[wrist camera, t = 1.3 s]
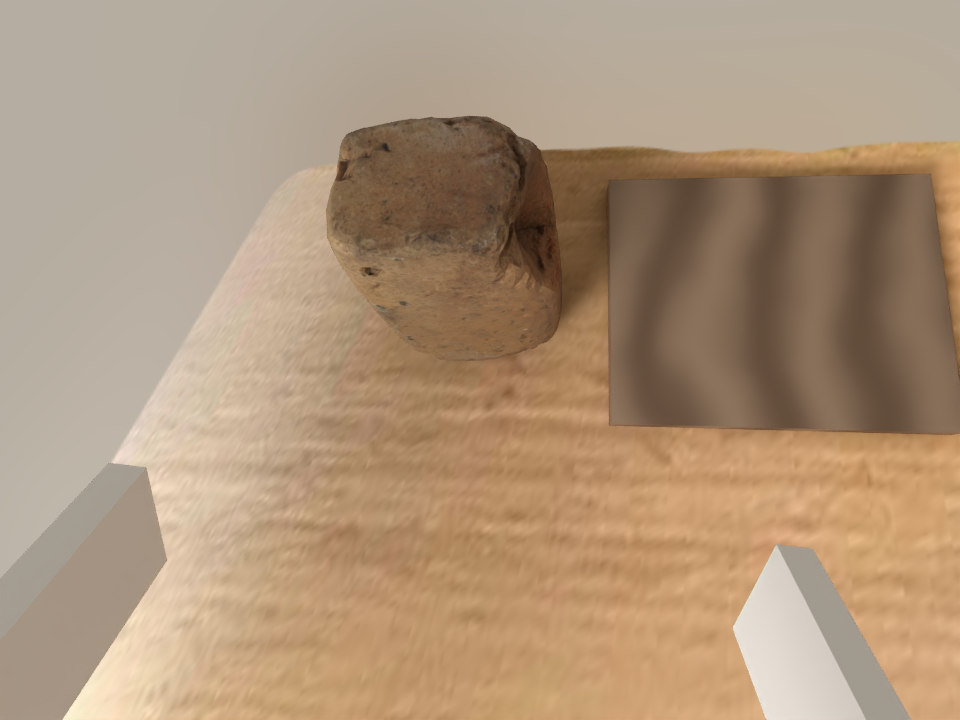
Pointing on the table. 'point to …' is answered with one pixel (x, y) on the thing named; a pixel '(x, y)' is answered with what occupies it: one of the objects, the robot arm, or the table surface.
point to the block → (449, 234)
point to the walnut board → (780, 305)
